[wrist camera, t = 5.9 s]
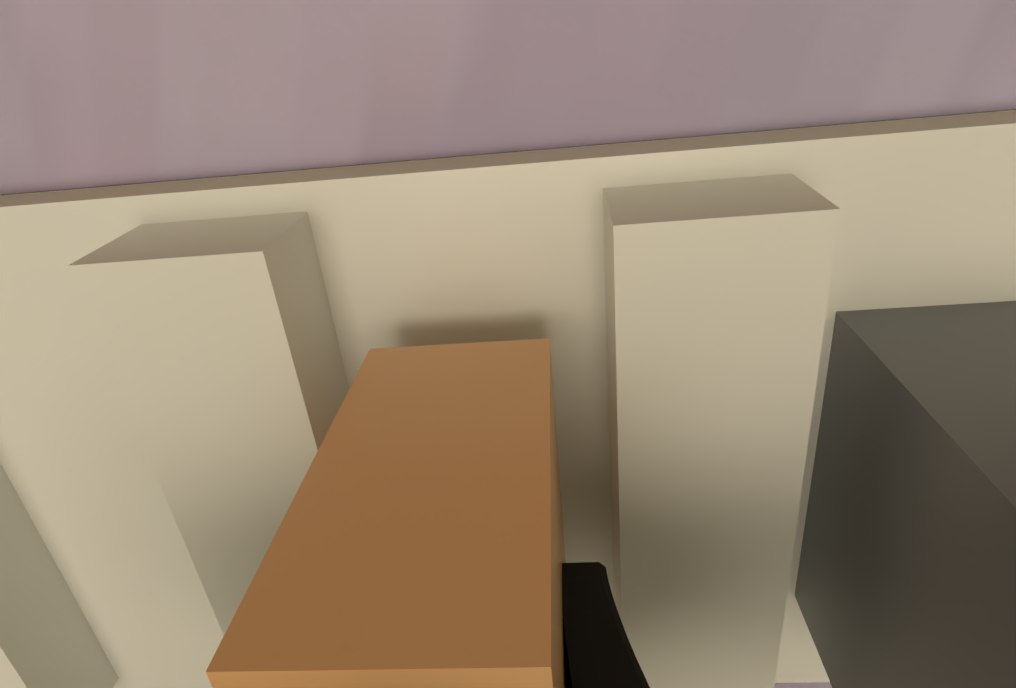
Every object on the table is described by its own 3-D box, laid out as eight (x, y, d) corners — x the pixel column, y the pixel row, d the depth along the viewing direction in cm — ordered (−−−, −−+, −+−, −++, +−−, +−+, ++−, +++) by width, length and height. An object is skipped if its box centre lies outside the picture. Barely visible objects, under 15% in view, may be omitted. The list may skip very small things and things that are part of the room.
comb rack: (1059, 642, 16) (1158, 766, 14) (45, 659, 19) (-36, 766, 16) (1295, 85, 11) (1546, 116, 8) (-227, 214, 13) (-427, 270, 10)
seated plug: (935, 592, 15) (1157, 932, 9) (794, 595, 15) (931, 928, 10) (1017, 300, 11) (1428, 565, 6) (836, 311, 12) (1076, 575, 6)
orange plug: (571, 633, 14) (584, 1023, 9) (430, 636, 14) (361, 1014, 9) (549, 338, 11) (551, 667, 6) (370, 348, 11) (204, 672, 6)
